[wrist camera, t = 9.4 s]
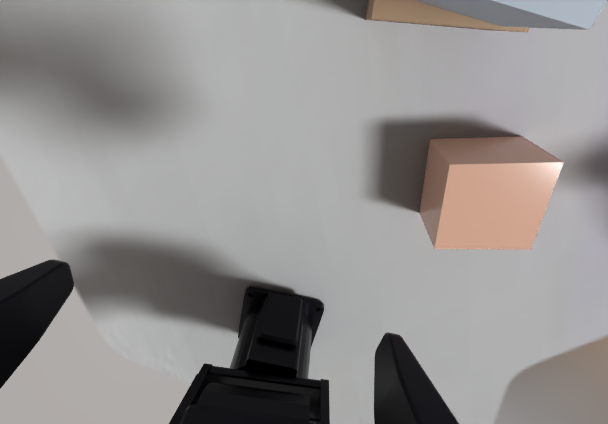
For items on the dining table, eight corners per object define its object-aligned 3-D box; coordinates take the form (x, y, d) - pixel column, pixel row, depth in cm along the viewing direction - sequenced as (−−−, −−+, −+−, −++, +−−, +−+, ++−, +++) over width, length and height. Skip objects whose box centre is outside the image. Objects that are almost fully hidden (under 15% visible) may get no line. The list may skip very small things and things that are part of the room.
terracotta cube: (499, 211, 21) (531, 249, 17) (419, 211, 21) (434, 248, 18) (521, 135, 18) (563, 162, 15) (429, 138, 19) (449, 164, 15)
